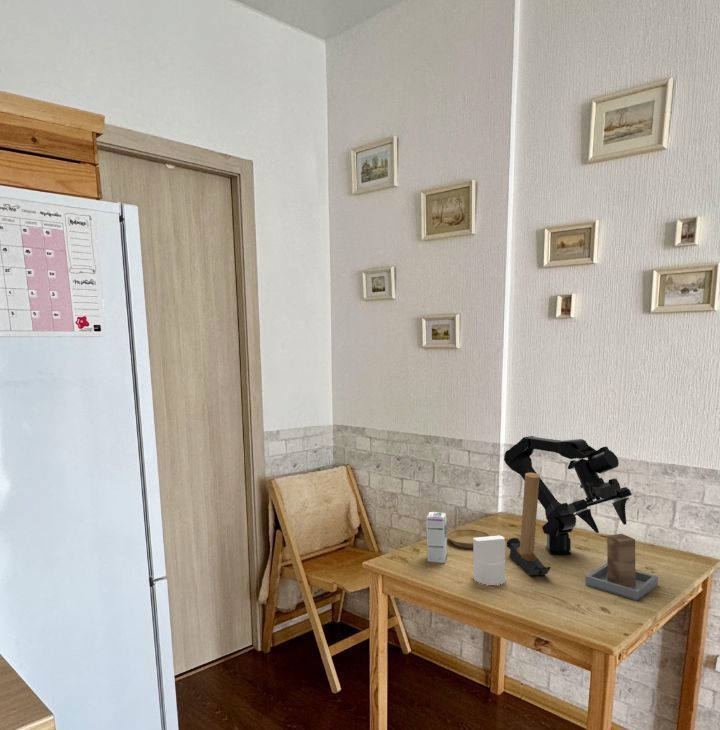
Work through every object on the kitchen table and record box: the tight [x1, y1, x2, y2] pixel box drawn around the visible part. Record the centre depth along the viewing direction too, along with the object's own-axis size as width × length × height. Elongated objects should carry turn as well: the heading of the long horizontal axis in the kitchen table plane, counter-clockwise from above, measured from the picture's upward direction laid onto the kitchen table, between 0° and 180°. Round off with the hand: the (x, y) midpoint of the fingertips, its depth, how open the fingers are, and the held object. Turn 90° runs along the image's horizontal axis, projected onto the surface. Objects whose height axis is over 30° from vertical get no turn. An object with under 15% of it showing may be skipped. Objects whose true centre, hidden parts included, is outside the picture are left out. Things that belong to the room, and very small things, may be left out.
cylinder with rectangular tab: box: [472, 535, 506, 586], centre depth 158 cm, size 9×9×12 cm
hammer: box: [506, 472, 552, 576], centre depth 164 cm, size 20×5×30 cm, turn 7°
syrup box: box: [425, 511, 448, 564], centre depth 173 cm, size 6×6×14 cm
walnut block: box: [606, 533, 636, 587], centre depth 152 cm, size 5×5×13 cm
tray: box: [584, 562, 659, 602], centre depth 152 cm, size 14×14×2 cm
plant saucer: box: [447, 528, 491, 549], centre depth 189 cm, size 15×15×3 cm
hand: (611, 528), depth 162 cm, fingers open, 9 cm apart
